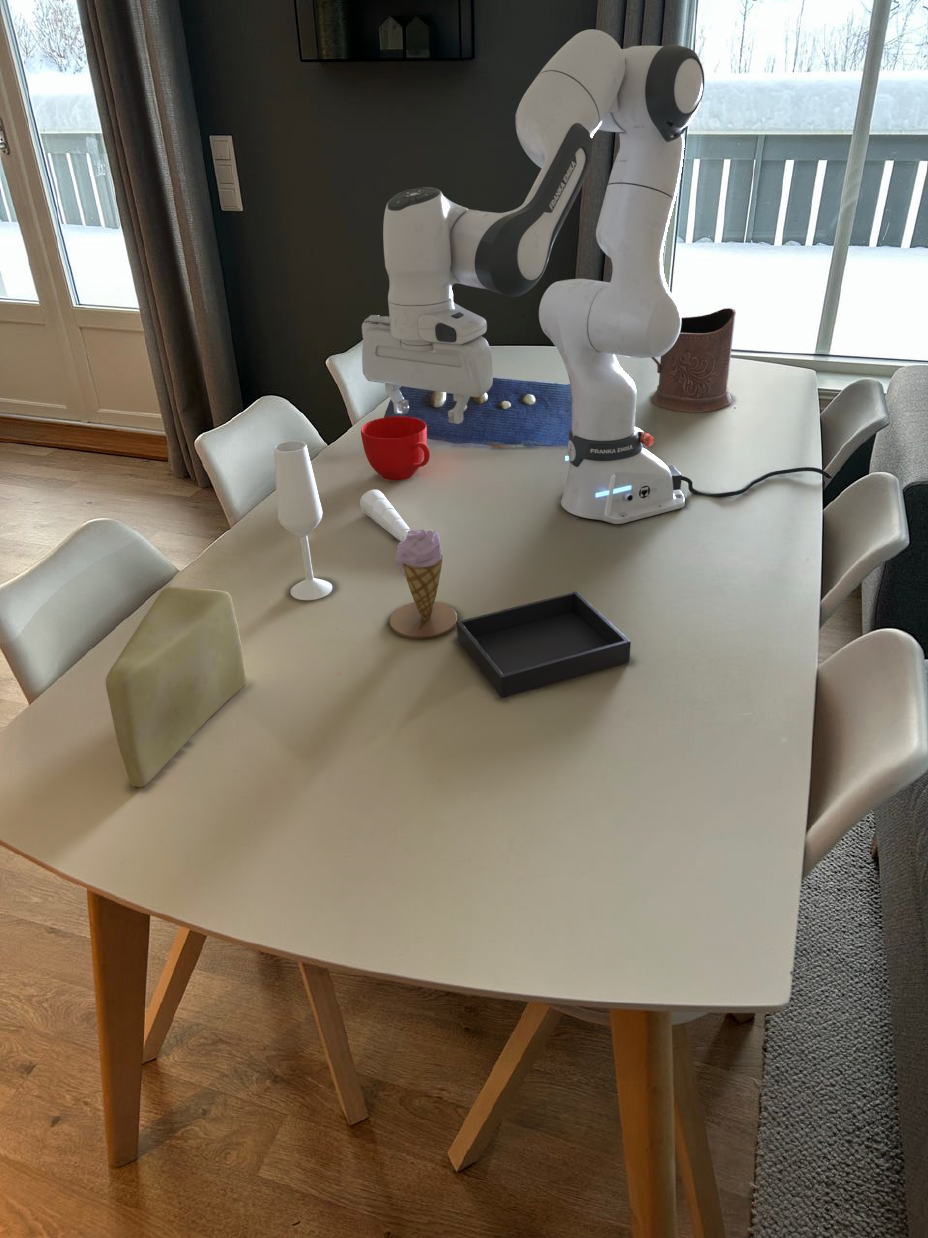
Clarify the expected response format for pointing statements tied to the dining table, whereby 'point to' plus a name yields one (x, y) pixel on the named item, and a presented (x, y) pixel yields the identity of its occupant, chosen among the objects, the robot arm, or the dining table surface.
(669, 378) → the cup holder
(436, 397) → the mat
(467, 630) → the tray
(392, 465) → the ceramic cup
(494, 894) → the dining table surface
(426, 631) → the coaster
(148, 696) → the cheese
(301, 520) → the champagne flute
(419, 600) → the ice cream cone
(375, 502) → the unicorn horn
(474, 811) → the dining table surface
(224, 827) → the dining table surface
